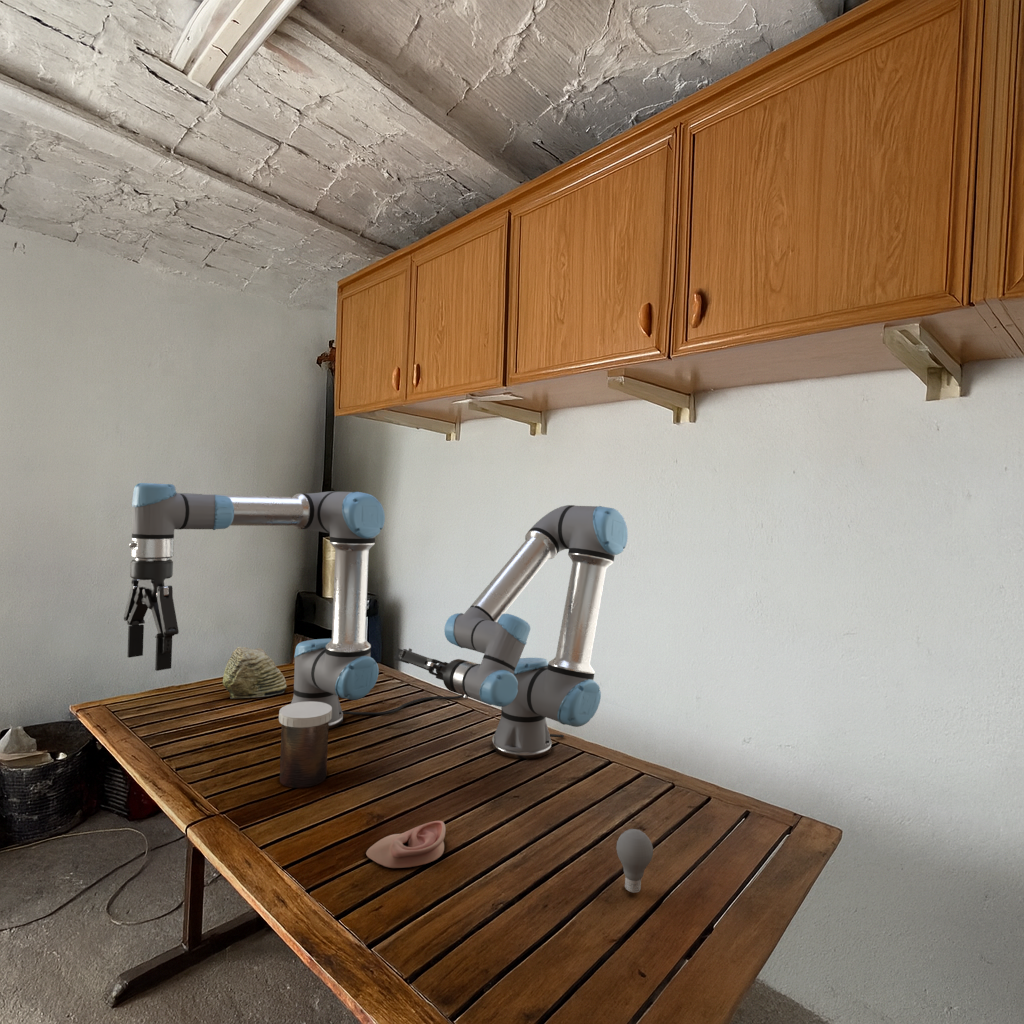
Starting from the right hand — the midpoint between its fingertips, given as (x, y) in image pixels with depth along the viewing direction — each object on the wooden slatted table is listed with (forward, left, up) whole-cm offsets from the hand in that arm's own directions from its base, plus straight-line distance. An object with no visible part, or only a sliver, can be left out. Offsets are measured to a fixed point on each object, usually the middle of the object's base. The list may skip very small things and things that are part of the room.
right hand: (418, 663), depth 161 cm
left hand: (+59, +8, +6) cm, 60 cm away
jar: (+28, +8, -22) cm, 36 cm away
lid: (+28, +8, -7) cm, 30 cm away
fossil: (+36, -57, -22) cm, 70 cm away
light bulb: (-18, +69, -22) cm, 75 cm away
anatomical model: (+14, +45, -22) cm, 52 cm away
